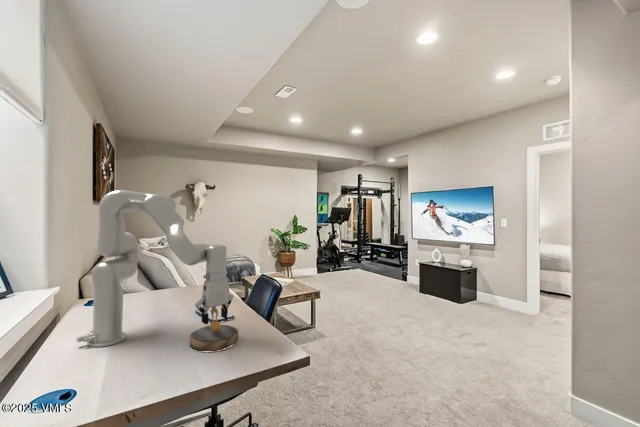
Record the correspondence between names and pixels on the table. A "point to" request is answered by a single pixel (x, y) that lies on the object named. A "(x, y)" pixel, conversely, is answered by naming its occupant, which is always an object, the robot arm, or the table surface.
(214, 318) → the external hard drive
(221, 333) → the walnut stand
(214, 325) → the figurine
